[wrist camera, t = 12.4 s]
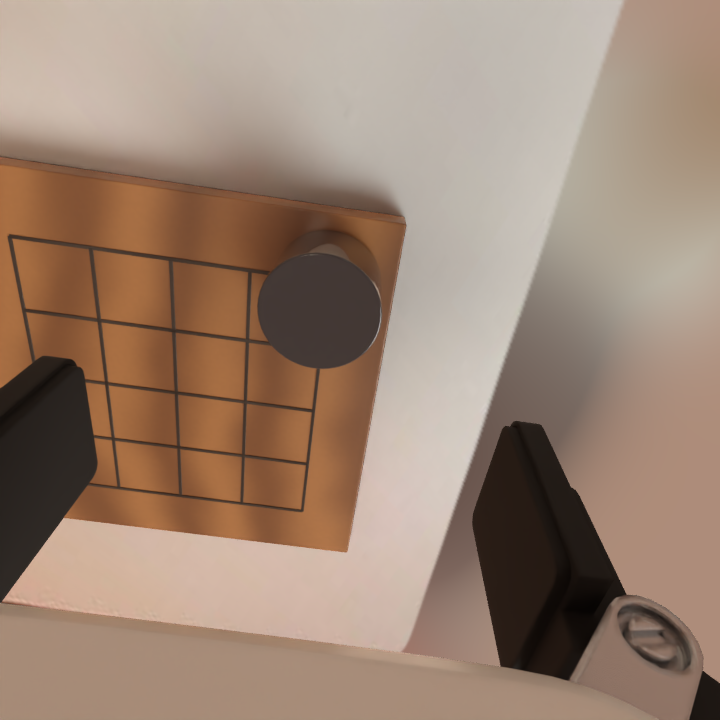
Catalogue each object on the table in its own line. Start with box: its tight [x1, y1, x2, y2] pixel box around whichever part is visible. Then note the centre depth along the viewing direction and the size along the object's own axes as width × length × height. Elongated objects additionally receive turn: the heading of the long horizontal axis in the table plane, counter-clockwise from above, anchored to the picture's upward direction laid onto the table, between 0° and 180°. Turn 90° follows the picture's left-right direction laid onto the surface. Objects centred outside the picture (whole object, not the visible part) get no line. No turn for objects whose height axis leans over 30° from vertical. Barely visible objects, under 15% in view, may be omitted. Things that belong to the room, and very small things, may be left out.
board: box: [0, 157, 406, 552], centre depth 26 cm, size 20×20×2 cm
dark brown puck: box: [257, 230, 382, 369], centre depth 21 cm, size 5×5×4 cm
